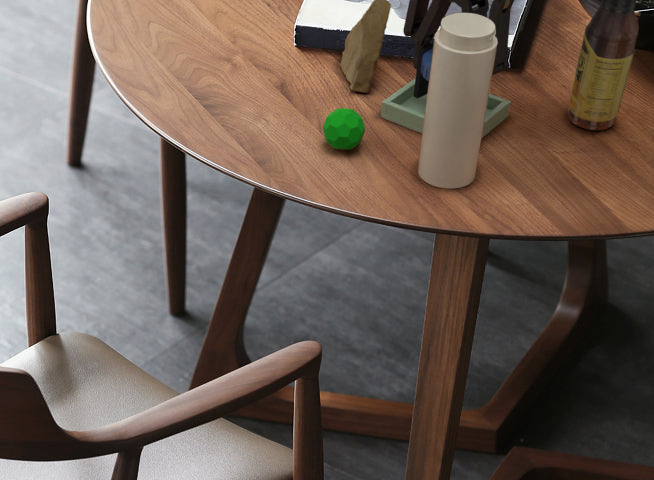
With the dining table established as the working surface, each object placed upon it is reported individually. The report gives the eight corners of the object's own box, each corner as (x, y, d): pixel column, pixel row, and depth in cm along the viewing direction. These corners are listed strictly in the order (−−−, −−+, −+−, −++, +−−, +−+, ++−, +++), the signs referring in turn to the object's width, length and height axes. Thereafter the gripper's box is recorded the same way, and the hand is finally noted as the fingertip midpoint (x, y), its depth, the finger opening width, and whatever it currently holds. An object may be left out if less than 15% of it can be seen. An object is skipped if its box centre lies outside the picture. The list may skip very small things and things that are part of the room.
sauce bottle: (575, 103, 140) (610, -48, 127) (622, 117, 138) (662, -36, 125) (557, 125, 136) (591, -29, 123) (605, 139, 134) (645, -16, 120)
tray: (508, 116, 138) (511, 101, 136) (466, 151, 131) (468, 135, 130) (424, 85, 143) (426, 70, 141) (380, 117, 137) (381, 101, 135)
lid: (411, 64, 135) (412, 50, 133) (462, 56, 136) (464, 42, 135) (436, 91, 130) (438, 77, 128) (489, 82, 132) (491, 68, 130)
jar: (485, 170, 128) (511, 22, 116) (456, 195, 124) (479, 45, 112) (436, 151, 131) (457, 4, 118) (406, 175, 127) (424, 26, 114)
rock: (385, 87, 137) (419, 47, 143) (349, 30, 134) (385, -9, 139) (326, 111, 146) (360, 72, 151) (291, 58, 142) (327, 19, 147)
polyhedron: (354, 161, 129) (357, 126, 126) (316, 151, 130) (318, 116, 127) (368, 141, 132) (371, 106, 129) (331, 132, 134) (333, 97, 131)
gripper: (383, -96, 124) (368, 85, 139) (521, -41, 113) (487, 148, 129) (427, -111, 127) (407, 67, 143) (564, -59, 117) (526, 127, 133)
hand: (445, 105), depth 136 cm, fingers closed on lid, 7 cm apart
